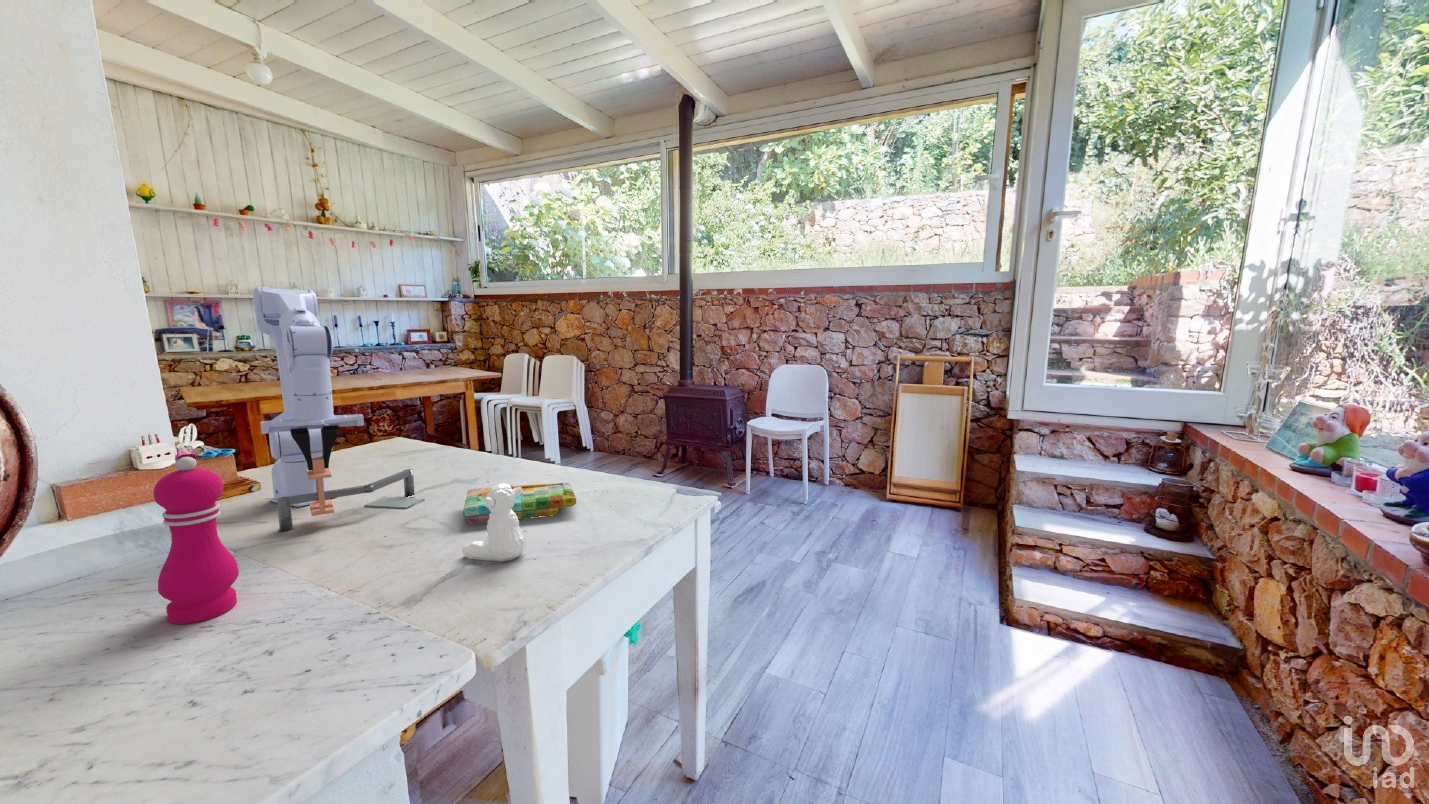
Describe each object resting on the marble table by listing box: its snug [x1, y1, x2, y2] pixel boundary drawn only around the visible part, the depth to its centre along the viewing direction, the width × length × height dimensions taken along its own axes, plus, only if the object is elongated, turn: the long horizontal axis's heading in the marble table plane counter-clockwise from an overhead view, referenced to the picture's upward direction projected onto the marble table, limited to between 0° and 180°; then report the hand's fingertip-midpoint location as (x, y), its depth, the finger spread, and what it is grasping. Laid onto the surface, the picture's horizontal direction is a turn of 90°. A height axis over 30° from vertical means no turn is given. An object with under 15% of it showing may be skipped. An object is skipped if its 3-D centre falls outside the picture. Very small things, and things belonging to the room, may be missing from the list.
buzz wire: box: [276, 468, 415, 533], centre depth 101 cm, size 8×24×6 cm, turn 160°
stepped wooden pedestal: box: [306, 456, 335, 517], centre depth 94 cm, size 3×7×10 cm, turn 40°
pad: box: [364, 496, 424, 510], centre depth 107 cm, size 6×9×1 cm, turn 85°
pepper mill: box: [152, 456, 240, 625], centre depth 64 cm, size 7×7×20 cm
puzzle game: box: [463, 481, 577, 525], centre depth 103 cm, size 12×5×20 cm
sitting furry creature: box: [461, 482, 526, 563], centre depth 83 cm, size 10×9×12 cm
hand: (318, 468), depth 94 cm, fingers closed on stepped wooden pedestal, 2 cm apart
